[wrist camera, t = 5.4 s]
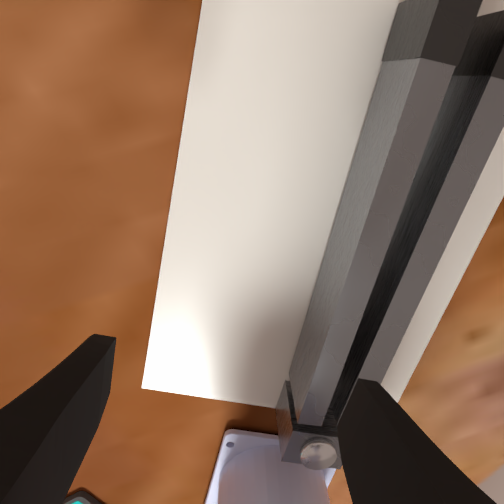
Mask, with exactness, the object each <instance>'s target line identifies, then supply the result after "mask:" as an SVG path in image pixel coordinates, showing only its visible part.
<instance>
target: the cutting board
mask: <svg viewBox="0 0 504 504" xmlns="http://www.w3.org/2000/svg"><path fill="white" fill-rule="evenodd" d="M403 1H405V0H202V7H201V13H200V20H199V26H198V32H197V39H196V45H195V51H194V58H193V64H192V71H191V77H190V83H189V90H188V96H187V102H186V109H185V115H184V122H183V128H182V134H181V141H180V147H179V153H178V160H177V166H176V173H175V179H174V185H173V192H172V198H171V204H170V211H169V217H168V224H167V230H166V236H165V243H164V249H163V255H162V262H161V268H160V275H159V281H158V287H157V294H156V300H155V306H154V313H153V319H152V326H151V332H150V338H149V345H148V351H147V357H146V364H145V370H144V377H143V383H142V388H145V389H152V390H158V391H165V392H171V393H178V394H185V395H191V396H198V397H204V398H211V399H217V400H224V401H231V402H237V403H244V404H250V405H257V406H263V407H270V408H276V405H277V402H278V399H279V396H280V393H281V391H282V388H283V385H284V382H285V380H287V381H290V377H289V370H290V367H291V363H292V360H293V357H294V353H295V350H296V347H297V344H298V340H299V337H300V334H301V330H302V327H303V324H304V320H305V317H306V314H307V311H308V307H309V304H310V301H311V297H312V294H313V291H314V287H315V284H316V281H317V278H318V274H319V271H320V268H321V264H322V261H323V258H324V254H325V251H326V248H327V245H328V241H329V238H330V235H331V231H332V228H333V225H334V221H335V218H336V215H337V211H338V208H339V205H340V202H341V198H342V195H343V192H344V188H345V185H346V182H347V178H348V175H349V172H350V169H351V165H352V162H353V159H354V155H355V152H356V149H357V145H358V142H359V139H360V136H361V132H362V129H363V126H364V122H365V119H366V116H367V112H368V109H369V106H370V103H371V99H372V96H373V93H374V89H375V86H376V83H377V79H378V76H379V73H380V70H381V66H382V63H383V62H382V57H383V54H384V51H385V47H386V44H387V41H388V37H389V34H390V31H391V27H392V24H393V21H394V18H395V14H396V11H397V8H398V4H399V3H401V2H403ZM502 10H504V0H483V1H482V4H481V6H480V9H479V12H478V14H477V17H478V16H482V15H486V14H490V13H494V12H498V11H502ZM503 196H504V127H503V129H502V131H501V133H500V135H499V137H498V140H497V142H496V144H495V146H494V148H493V150H492V152H491V154H490V156H489V158H488V160H487V163H486V165H485V167H484V169H483V171H482V173H481V175H480V177H479V179H478V181H477V184H476V186H475V188H474V190H473V192H472V194H471V196H470V198H469V200H468V202H467V204H466V207H465V209H464V211H463V213H462V215H461V217H460V219H459V221H458V223H457V225H456V228H455V230H454V232H453V234H452V236H451V238H450V240H449V242H448V244H447V246H446V248H445V251H444V253H443V255H442V257H441V259H440V261H439V263H438V265H437V267H436V269H435V272H434V274H433V276H432V278H431V280H430V282H429V284H428V286H427V288H426V290H425V292H424V295H423V297H422V299H421V301H420V303H419V305H418V307H417V309H416V311H415V313H414V316H413V318H412V320H411V322H410V324H409V326H408V328H407V330H406V332H405V334H404V336H403V339H402V341H401V343H400V345H399V347H398V349H397V351H396V353H395V355H394V357H393V360H392V362H391V364H390V366H389V368H388V370H387V372H386V374H385V376H384V378H383V380H382V383H381V386H382V387H383V388H384V389H385V390H386V391H387V392H388V393H389V394H390V395H391V396H392V398H393V399H394V400H395V401H396V402H397V403H398V401H399V399H400V397H401V395H402V393H403V391H404V389H405V387H406V386H407V384H408V382H409V380H410V378H411V376H412V374H413V372H414V370H415V368H416V366H417V364H418V362H419V360H420V358H421V356H422V354H423V352H424V350H425V348H426V346H427V345H428V343H429V341H430V339H431V337H432V335H433V333H434V331H435V329H436V327H437V325H438V323H439V321H440V319H441V317H442V315H443V313H444V311H445V309H446V307H447V306H448V304H449V302H450V300H451V298H452V296H453V294H454V292H455V290H456V288H457V286H458V284H459V282H460V280H461V278H462V276H463V274H464V272H465V270H466V268H467V267H468V265H469V263H470V261H471V259H472V257H473V255H474V253H475V251H476V249H477V247H478V245H479V243H480V241H481V239H482V237H483V235H484V233H485V231H486V229H487V228H488V226H489V224H490V222H491V220H492V218H493V216H494V214H495V212H496V210H497V208H498V206H499V204H500V202H501V200H502V198H503Z"/></svg>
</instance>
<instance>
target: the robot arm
mask: <svg viewBox="0 0 504 504" xmlns="http://www.w3.org/2000/svg"><path fill="white" fill-rule="evenodd" d="M115 345H116V337H110V336H104V335H98V334H93V335H91V336H90V337H89V338H88V339H86V340H85V341H84V342H83V343H82V344H81V345H80V346H79V347H78V348H77V349H76V350H75V351H73V352H72V353H71V354H70V355H69V356H68V357H67V358H66V359H64V360H63V361H62V362H61V363H60V364H59V365H57V366H56V367H55V368H54V369H53V370H51V371H50V372H49V373H48V374H46V375H45V376H44V377H43V378H42V379H40V380H39V381H38V382H37V383H35V384H34V385H33V386H31V387H30V388H29V389H27V390H26V391H25V392H23V393H22V394H21V395H19V396H18V397H17V398H15V399H14V400H13V401H11V402H10V403H9V404H7V405H6V406H4V407H3V408H2V409H0V504H62V503H63V501H64V499H65V497H66V495H67V493H68V490H69V488H70V486H71V484H72V482H73V480H74V478H75V476H76V473H77V471H78V469H79V467H80V465H81V463H82V461H83V459H84V456H85V454H86V452H87V450H88V448H89V446H90V444H91V441H92V439H93V437H94V435H95V433H96V431H97V428H98V426H99V423H100V420H101V417H102V414H103V412H104V409H105V406H106V403H107V400H108V397H109V394H110V388H111V379H112V370H113V362H114V353H115ZM337 434H338V441H339V448H340V455H341V461H342V465H343V469H344V473H345V476H346V480H347V484H348V488H349V491H350V495H351V499H352V502H353V504H496V503H495V502H494V501H493V500H492V499H491V498H490V497H489V496H487V495H486V494H485V493H484V492H483V491H482V490H481V489H480V488H479V487H477V486H476V485H475V484H474V483H473V482H472V481H471V480H470V479H469V478H468V477H467V476H466V475H465V474H464V473H463V472H462V471H461V470H460V469H459V468H458V467H457V466H456V465H455V464H454V463H453V462H452V461H451V460H450V459H449V458H448V457H447V456H446V455H445V454H444V453H443V452H442V451H441V450H440V449H439V448H438V447H437V446H436V445H435V444H434V443H433V442H432V441H431V439H430V438H429V437H428V436H427V435H426V434H425V433H424V432H423V431H422V430H421V429H420V428H419V426H418V425H417V424H416V423H415V422H414V421H413V420H412V419H411V418H410V416H409V415H408V414H407V413H406V412H405V411H404V410H403V409H402V408H401V406H400V405H399V404H398V403H397V402H396V401H395V400H394V399H393V398H392V396H391V395H390V394H389V393H388V392H387V391H386V390H385V389H384V388H383V387H382V386H381V385H380V384H379V383H378V382H377V381H372V380H366V379H360V378H358V380H357V382H356V384H355V386H354V389H353V391H352V393H351V395H350V398H349V400H348V402H347V404H346V407H345V409H344V411H343V413H342V416H341V418H340V420H339V422H338V425H337ZM335 471H336V469H334V468H326V469H322V470H311V469H308V468H306V467H305V466H304V465H303V464H297V463H290V462H283V461H281V454H280V445H279V436H278V435H271V434H264V433H257V432H250V431H243V430H236V429H229V430H227V431H226V432H225V433H224V437H223V440H222V444H221V447H220V451H219V454H218V458H217V461H216V465H215V468H214V472H213V475H212V479H211V482H210V486H209V489H208V493H207V496H206V500H205V503H204V504H330V501H329V496H328V491H327V488H328V486H329V483H330V481H331V479H332V477H333V475H334V473H335Z"/></svg>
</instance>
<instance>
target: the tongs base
mask: <svg viewBox="0 0 504 504" xmlns="http://www.w3.org/2000/svg"><path fill="white" fill-rule="evenodd" d="M503 127H504V10H502V11H498V12H494V13H490V14H486V15H482V16H478V17H476V20H475V22H474V25H473V28H472V30H471V33H470V36H469V38H468V41H467V44H466V46H465V49H464V52H463V54H462V57H461V60H460V62H459V65H458V66H456V67H455V69H454V72H453V75H452V77H451V80H450V83H449V86H448V88H447V91H446V94H445V96H444V99H443V102H442V104H441V107H440V110H439V112H438V115H437V118H436V120H435V123H434V126H433V128H432V131H431V134H430V136H429V139H428V142H427V145H426V147H425V150H424V153H423V155H422V158H421V161H420V163H419V166H418V169H417V171H416V174H415V177H414V179H413V182H412V185H411V187H410V190H409V193H408V195H407V198H406V201H405V204H404V206H403V209H402V212H401V214H400V217H399V220H398V222H397V225H396V228H395V230H394V233H393V236H392V238H391V241H390V244H389V246H388V249H387V252H386V254H385V257H384V260H383V263H382V265H381V268H380V271H379V273H378V276H377V279H376V281H375V284H374V287H373V289H372V292H371V295H370V297H369V300H368V303H367V305H366V308H365V311H364V313H363V316H362V319H361V322H360V324H359V327H358V330H357V332H356V335H355V338H354V340H353V343H352V346H351V348H350V351H349V354H348V356H347V359H346V362H345V364H344V367H343V370H342V372H341V375H340V378H339V381H338V383H337V386H336V389H335V391H334V394H333V397H332V399H331V402H330V405H329V407H328V410H327V413H326V415H325V418H324V421H323V423H322V426H314V425H306V424H298V423H297V418H296V413H295V407H294V401H293V395H292V389H291V383H290V381H287V380H285V382H284V385H283V388H282V391H281V393H280V396H279V399H278V402H277V405H276V408H275V410H276V419H277V428H278V436H279V445H280V454H281V461H283V462H290V463H297V464H303V465H304V466H305V467H306V468H308V469H311V470H322V469H326V468H334V469H341V466H342V461H341V455H340V448H339V441H338V434H337V425H338V422H339V420H340V418H341V416H342V413H343V411H344V409H345V407H346V404H347V402H348V400H349V398H350V395H351V393H352V391H353V389H354V386H355V384H356V382H357V380H358V378H360V379H366V380H372V381H377V382H378V383H379V384H380V385H381V383H382V380H383V378H384V376H385V374H386V372H387V370H388V368H389V366H390V364H391V362H392V360H393V357H394V355H395V353H396V351H397V349H398V347H399V345H400V343H401V341H402V339H403V336H404V334H405V332H406V330H407V328H408V326H409V324H410V322H411V320H412V318H413V316H414V313H415V311H416V309H417V307H418V305H419V303H420V301H421V299H422V297H423V295H424V292H425V290H426V288H427V286H428V284H429V282H430V280H431V278H432V276H433V274H434V272H435V269H436V267H437V265H438V263H439V261H440V259H441V257H442V255H443V253H444V251H445V248H446V246H447V244H448V242H449V240H450V238H451V236H452V234H453V232H454V230H455V228H456V225H457V223H458V221H459V219H460V217H461V215H462V213H463V211H464V209H465V207H466V204H467V202H468V200H469V198H470V196H471V194H472V192H473V190H474V188H475V186H476V184H477V181H478V179H479V177H480V175H481V173H482V171H483V169H484V167H485V165H486V163H487V160H488V158H489V156H490V154H491V152H492V150H493V148H494V146H495V144H496V142H497V140H498V137H499V135H500V133H501V131H502V129H503Z"/></svg>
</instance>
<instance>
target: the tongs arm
mask: <svg viewBox="0 0 504 504" xmlns="http://www.w3.org/2000/svg"><path fill="white" fill-rule="evenodd" d="M482 1H483V0H405V1H403V2H401V3H399V4H398V8H397V11H396V14H395V18H394V21H393V24H392V27H391V31H390V34H389V37H388V41H387V44H386V47H385V51H384V54H383V57H382V62H383V63H382V66H381V70H380V73H379V76H378V79H377V83H376V86H375V89H374V93H373V96H372V99H371V103H370V106H369V109H368V112H367V116H366V119H365V122H364V126H363V129H362V132H361V136H360V139H359V142H358V145H357V149H356V152H355V155H354V159H353V162H352V165H351V169H350V172H349V175H348V178H347V182H346V185H345V188H344V192H343V195H342V198H341V202H340V205H339V208H338V211H337V215H336V218H335V221H334V225H333V228H332V231H331V235H330V238H329V241H328V245H327V248H326V251H325V254H324V258H323V261H322V264H321V268H320V271H319V274H318V278H317V281H316V284H315V287H314V291H313V294H312V297H311V301H310V304H309V307H308V311H307V314H306V317H305V320H304V324H303V327H302V330H301V334H300V337H299V340H298V344H297V347H296V350H295V353H294V357H293V360H292V363H291V367H290V370H289V377H290V383H291V389H292V395H293V401H294V407H295V413H296V418H297V423H298V424H306V425H314V426H322V423H323V421H324V418H325V415H326V413H327V410H328V407H329V405H330V402H331V399H332V397H333V394H334V391H335V389H336V386H337V383H338V381H339V378H340V375H341V372H342V370H343V367H344V364H345V362H346V359H347V356H348V354H349V351H350V348H351V346H352V343H353V340H354V338H355V335H356V332H357V330H358V327H359V324H360V322H361V319H362V316H363V313H364V311H365V308H366V305H367V303H368V300H369V297H370V295H371V292H372V289H373V287H374V284H375V281H376V279H377V276H378V273H379V271H380V268H381V265H382V263H383V260H384V257H385V254H386V252H387V249H388V246H389V244H390V241H391V238H392V236H393V233H394V230H395V228H396V225H397V222H398V220H399V217H400V214H401V212H402V209H403V206H404V204H405V201H406V198H407V195H408V193H409V190H410V187H411V185H412V182H413V179H414V177H415V174H416V171H417V169H418V166H419V163H420V161H421V158H422V155H423V153H424V150H425V147H426V145H427V142H428V139H429V136H430V134H431V131H432V128H433V126H434V123H435V120H436V118H437V115H438V112H439V110H440V107H441V104H442V102H443V99H444V96H445V94H446V91H447V88H448V86H449V83H450V80H451V77H452V75H453V72H454V69H455V67H456V66H458V65H459V62H460V60H461V57H462V54H463V52H464V49H465V46H466V44H467V41H468V38H469V36H470V33H471V30H472V28H473V25H474V22H475V20H476V17H477V14H478V12H479V9H480V6H481V4H482Z"/></svg>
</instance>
